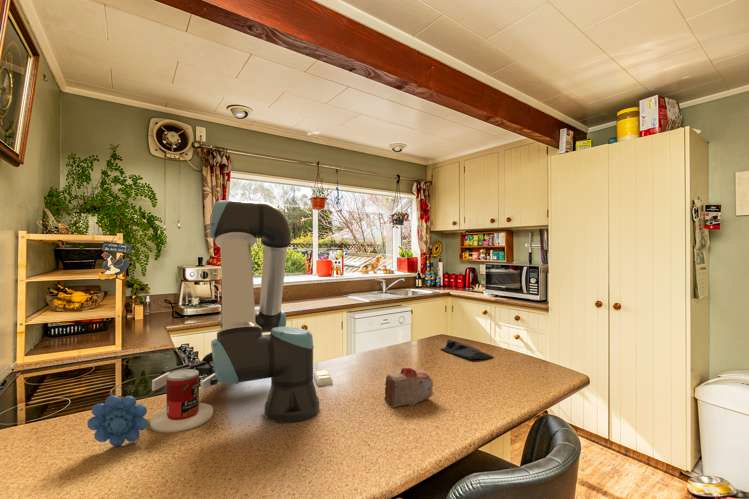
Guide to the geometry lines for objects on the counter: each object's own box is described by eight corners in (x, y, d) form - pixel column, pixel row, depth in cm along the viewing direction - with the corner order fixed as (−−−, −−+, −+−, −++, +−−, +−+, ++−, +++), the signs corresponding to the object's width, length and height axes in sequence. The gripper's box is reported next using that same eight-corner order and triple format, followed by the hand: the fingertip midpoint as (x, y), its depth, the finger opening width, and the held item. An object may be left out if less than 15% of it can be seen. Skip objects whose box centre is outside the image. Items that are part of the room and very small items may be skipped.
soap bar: (327, 376, 131) (327, 369, 131) (332, 385, 123) (332, 377, 123) (313, 378, 130) (313, 370, 130) (318, 387, 121) (318, 379, 121)
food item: (419, 392, 115) (419, 361, 115) (435, 401, 108) (435, 368, 108) (382, 400, 109) (382, 368, 109) (396, 411, 102) (396, 376, 102)
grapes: (84, 462, 77) (84, 406, 77) (88, 448, 83) (88, 396, 83) (148, 447, 83) (148, 395, 83) (148, 434, 89) (148, 385, 89)
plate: (224, 414, 100) (224, 410, 100) (170, 438, 87) (170, 433, 87) (192, 402, 108) (192, 398, 108) (138, 423, 95) (138, 418, 95)
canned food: (185, 421, 93) (185, 379, 93) (159, 419, 95) (159, 377, 95) (205, 409, 101) (205, 369, 101) (180, 406, 102) (180, 368, 102)
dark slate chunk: (466, 363, 146) (466, 352, 146) (437, 350, 166) (437, 339, 166) (497, 359, 152) (497, 348, 152) (465, 346, 172) (465, 336, 172)
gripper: (255, 374, 116) (223, 401, 95) (181, 372, 118) (133, 399, 96) (255, 350, 116) (222, 373, 95) (181, 349, 118) (133, 371, 96)
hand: (177, 386), depth 95 cm, fingers open, 13 cm apart
